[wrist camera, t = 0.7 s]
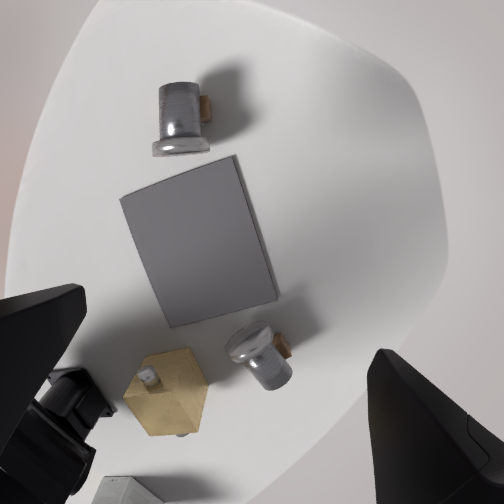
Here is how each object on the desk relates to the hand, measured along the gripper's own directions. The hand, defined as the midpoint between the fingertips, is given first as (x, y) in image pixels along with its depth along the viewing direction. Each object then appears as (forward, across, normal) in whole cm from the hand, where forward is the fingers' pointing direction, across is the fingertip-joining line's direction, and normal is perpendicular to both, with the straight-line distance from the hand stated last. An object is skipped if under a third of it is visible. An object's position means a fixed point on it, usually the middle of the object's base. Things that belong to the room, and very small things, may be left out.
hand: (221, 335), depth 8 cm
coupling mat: (+14, +4, +3) cm, 15 cm away
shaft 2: (+14, -2, +10) cm, 17 cm away
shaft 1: (+15, +6, -6) cm, 17 cm away
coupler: (+13, +5, +15) cm, 20 cm away
